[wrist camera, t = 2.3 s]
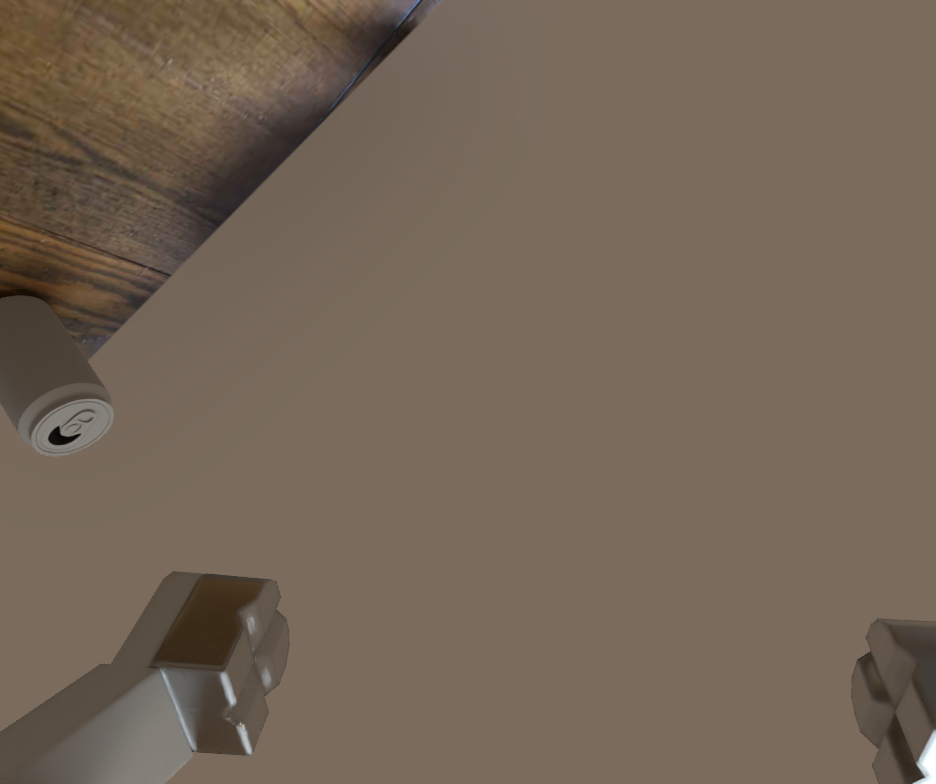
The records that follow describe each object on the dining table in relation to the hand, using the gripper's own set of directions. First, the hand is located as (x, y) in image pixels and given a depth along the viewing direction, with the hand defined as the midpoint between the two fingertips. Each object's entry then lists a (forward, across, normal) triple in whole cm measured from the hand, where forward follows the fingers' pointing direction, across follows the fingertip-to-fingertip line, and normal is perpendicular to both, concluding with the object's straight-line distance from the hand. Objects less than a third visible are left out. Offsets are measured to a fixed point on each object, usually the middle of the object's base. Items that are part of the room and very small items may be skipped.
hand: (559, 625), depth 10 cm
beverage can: (+40, -42, -17) cm, 61 cm away
